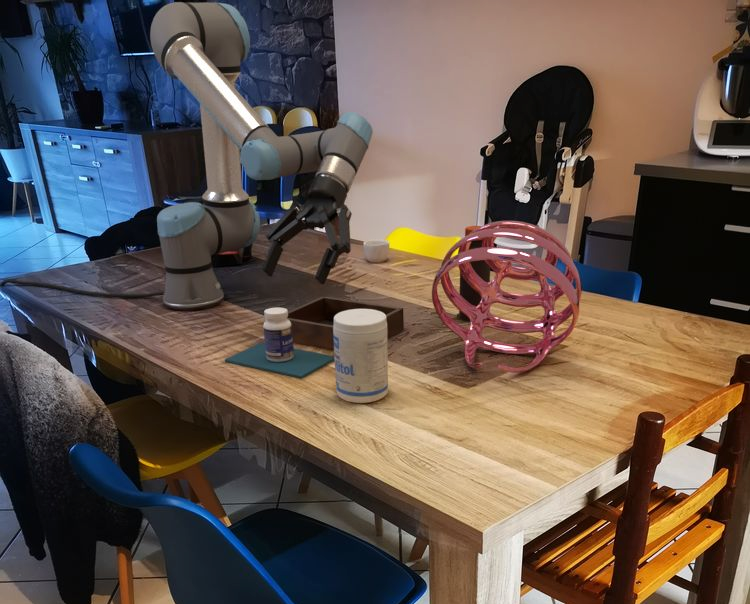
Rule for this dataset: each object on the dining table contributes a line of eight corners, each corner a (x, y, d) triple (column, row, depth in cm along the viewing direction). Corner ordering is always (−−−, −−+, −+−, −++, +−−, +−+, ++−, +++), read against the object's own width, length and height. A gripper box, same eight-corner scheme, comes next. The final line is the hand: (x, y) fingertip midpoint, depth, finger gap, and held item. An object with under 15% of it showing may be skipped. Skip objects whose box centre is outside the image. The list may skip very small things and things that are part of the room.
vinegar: (453, 318, 174) (454, 228, 164) (470, 311, 178) (473, 223, 168) (476, 323, 170) (479, 232, 160) (494, 316, 174) (498, 226, 164)
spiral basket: (532, 297, 119) (567, 173, 129) (387, 317, 135) (428, 205, 145) (584, 397, 139) (611, 283, 149) (453, 403, 155) (485, 300, 165)
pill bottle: (289, 363, 151) (284, 315, 146) (262, 362, 152) (257, 314, 147) (297, 353, 156) (293, 306, 151) (271, 352, 157) (266, 305, 152)
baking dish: (213, 262, 238) (202, 230, 233) (265, 253, 235) (256, 220, 229) (198, 277, 227) (187, 244, 221) (254, 268, 223) (244, 234, 217)
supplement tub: (326, 396, 137) (320, 318, 130) (360, 380, 143) (356, 304, 136) (365, 409, 132) (362, 328, 124) (399, 392, 138) (398, 313, 130)
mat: (224, 361, 155) (224, 359, 155) (262, 344, 164) (261, 341, 163) (301, 378, 145) (301, 376, 145) (336, 358, 154) (336, 356, 154)
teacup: (395, 260, 223) (394, 242, 220) (374, 265, 219) (374, 246, 217) (374, 255, 230) (374, 237, 227) (354, 259, 226) (353, 241, 223)
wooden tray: (277, 339, 166) (274, 317, 163) (324, 316, 179) (323, 296, 176) (359, 355, 155) (358, 331, 153) (403, 330, 168) (403, 308, 166)
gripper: (389, 201, 151) (351, 294, 149) (292, 193, 163) (255, 279, 160) (374, 177, 145) (334, 273, 142) (274, 170, 157) (235, 259, 154)
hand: (292, 277), depth 151 cm, fingers open, 13 cm apart
